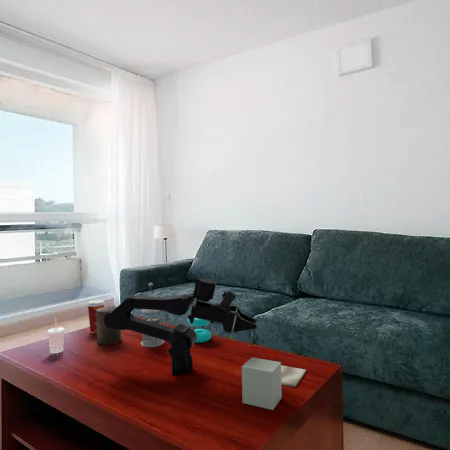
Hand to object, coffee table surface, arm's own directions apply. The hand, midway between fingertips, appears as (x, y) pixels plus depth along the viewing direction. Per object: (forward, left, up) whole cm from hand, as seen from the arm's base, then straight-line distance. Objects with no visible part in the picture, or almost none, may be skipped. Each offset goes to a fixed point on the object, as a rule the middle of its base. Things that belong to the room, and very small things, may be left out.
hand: (256, 323), depth 117 cm
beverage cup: (-73, +32, -16) cm, 81 cm away
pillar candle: (-55, +42, -16) cm, 71 cm away
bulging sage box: (-3, -18, -16) cm, 24 cm away
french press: (-36, +35, -16) cm, 53 cm away
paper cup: (-63, +56, -16) cm, 86 cm away
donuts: (-17, +36, -16) cm, 43 cm away
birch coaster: (+7, -4, -16) cm, 18 cm away
